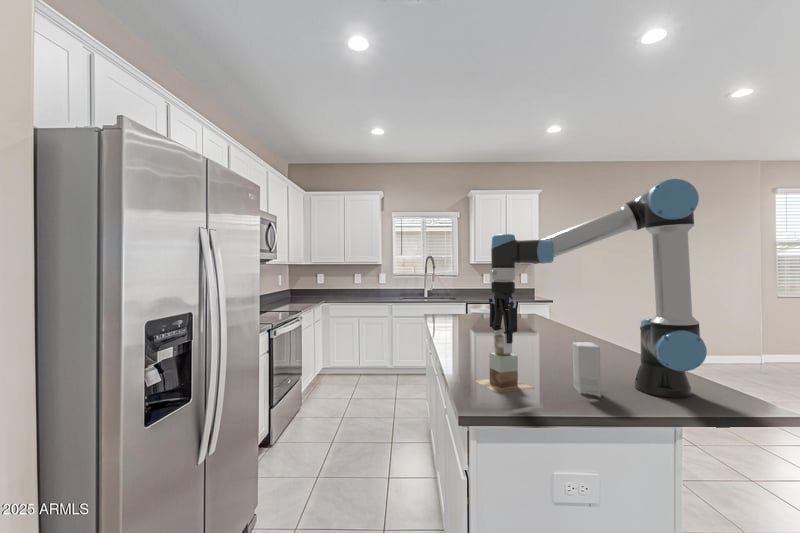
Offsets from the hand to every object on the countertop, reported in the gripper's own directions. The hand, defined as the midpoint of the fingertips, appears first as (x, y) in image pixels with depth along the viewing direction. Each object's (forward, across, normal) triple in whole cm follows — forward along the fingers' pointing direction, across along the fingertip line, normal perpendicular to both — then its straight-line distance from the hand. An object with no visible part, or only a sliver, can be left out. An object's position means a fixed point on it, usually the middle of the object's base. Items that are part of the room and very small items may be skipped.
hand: (502, 351), depth 130 cm
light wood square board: (+12, 0, 0) cm, 12 cm away
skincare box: (+12, +14, +21) cm, 28 cm away
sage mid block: (+6, 0, 0) cm, 6 cm away
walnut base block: (+11, 0, 0) cm, 11 cm away
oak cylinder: (+1, 0, 0) cm, 1 cm away
